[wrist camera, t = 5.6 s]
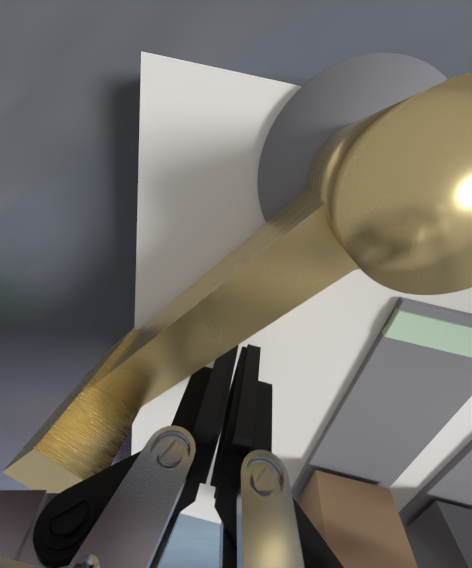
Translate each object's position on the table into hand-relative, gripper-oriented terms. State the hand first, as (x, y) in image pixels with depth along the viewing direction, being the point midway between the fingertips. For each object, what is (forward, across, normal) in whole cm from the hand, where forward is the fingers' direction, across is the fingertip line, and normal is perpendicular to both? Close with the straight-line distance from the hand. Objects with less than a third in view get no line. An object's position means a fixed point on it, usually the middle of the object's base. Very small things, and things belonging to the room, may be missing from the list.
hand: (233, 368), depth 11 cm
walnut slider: (+1, -8, +8) cm, 11 cm away
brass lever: (0, +1, -4) cm, 4 cm away
